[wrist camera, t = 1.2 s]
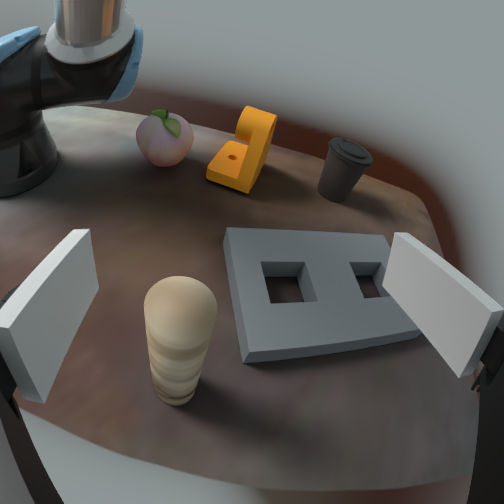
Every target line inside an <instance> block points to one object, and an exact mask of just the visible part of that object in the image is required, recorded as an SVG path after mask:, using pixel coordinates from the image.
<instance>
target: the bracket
mask: <svg viewBox="0 0 504 504" xmlns="http://www.w3.org/2000/svg"><path fill="white" fill-rule="evenodd" d="M276 120H277V115H274V114H271V113H268V112H265V111H262V110H259V109H256V108H253V107H249V106H246V107H245V108H244V110H243V112H242V114H241V116H240V119H239V121H238V124H237V128H236V133H235V138H236V139H239V140H242V141H245V142H248V143H249V145H248V146H247V145H244V144H241V143H238V142H235V141H228V142H227V143H226V144H225V145H224V146H223V148H222V149H221V150H220V151H219V152H218V154H217V155H216V156H215V157H214V158H213V160H212V161H211V162H210V163H209V165H208V167H207V173H206V178H207V179H208V180H211V181H214V182H217V183H219V184H222V185H225V186H228V187H231V188H233V189H236V190H239V191H242V192H244V193H247V194H248V193H249V191H250V189H252V187H253V185H254V183H255V181H256V179H257V177H258V175H259V174H260V171H261V168H262V166H263V165H264V163H265V160H266V157H267V154H268V150H269V147H270V143H271V139H272V135H273V131H274V128H275V124H276Z"/></svg>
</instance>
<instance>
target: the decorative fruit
mask: <svg viewBox="0 0 504 504" xmlns="http://www.w3.org/2000/svg"><path fill="white" fill-rule="evenodd" d="M151 114H153V115H150V116H149V117H147V118H146V119H144V120H143V121H142V122H141V123H140V125H139V126H138V128H137V131H136V140H137V144H138V146H139V148H140V150H141V152H142V153H143V155H144V156H145V157H146V158H147V159H149V160H150V161H151V162H152V163H153V164H155V165H157V166H160V167H169V166H173V165H176V164H177V163H179V162H180V161H182V160H183V159H184V157H185V156H186V155H187V154H188V152H189V150H190V148H191V146H192V144H193V139H194V136H193V131H192V128H191V126H190V125H189V123H188V122H187V121H186V120H185V119H183V118H182V117H180V116H178V115H176V114H172V113H168V110H166V111H165V110H154V111H152V112H151Z"/></svg>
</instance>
